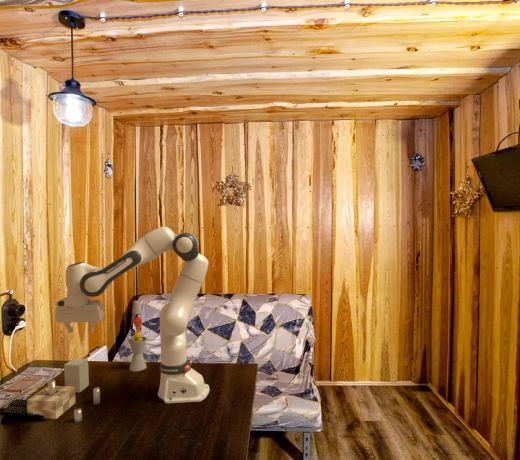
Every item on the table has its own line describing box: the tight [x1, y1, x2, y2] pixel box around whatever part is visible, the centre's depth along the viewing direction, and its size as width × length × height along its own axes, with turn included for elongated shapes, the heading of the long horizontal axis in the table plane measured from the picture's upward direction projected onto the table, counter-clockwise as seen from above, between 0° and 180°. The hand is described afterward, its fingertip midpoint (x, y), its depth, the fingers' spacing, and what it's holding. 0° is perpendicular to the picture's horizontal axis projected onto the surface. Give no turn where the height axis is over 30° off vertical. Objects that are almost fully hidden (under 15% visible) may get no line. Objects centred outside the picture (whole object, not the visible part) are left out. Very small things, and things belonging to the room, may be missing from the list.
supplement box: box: [63, 358, 90, 393], centre depth 161 cm, size 7×7×13 cm
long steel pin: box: [47, 379, 57, 396], centre depth 143 cm, size 3×3×12 cm
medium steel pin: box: [92, 386, 101, 405], centre depth 149 cm, size 3×3×6 cm
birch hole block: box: [26, 385, 76, 420], centre depth 143 cm, size 12×12×7 cm
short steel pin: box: [73, 407, 83, 423], centre depth 136 cm, size 3×3×4 cm
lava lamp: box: [127, 300, 147, 372], centre depth 183 cm, size 9×9×35 cm
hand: (80, 332), depth 151 cm, fingers open, 8 cm apart
